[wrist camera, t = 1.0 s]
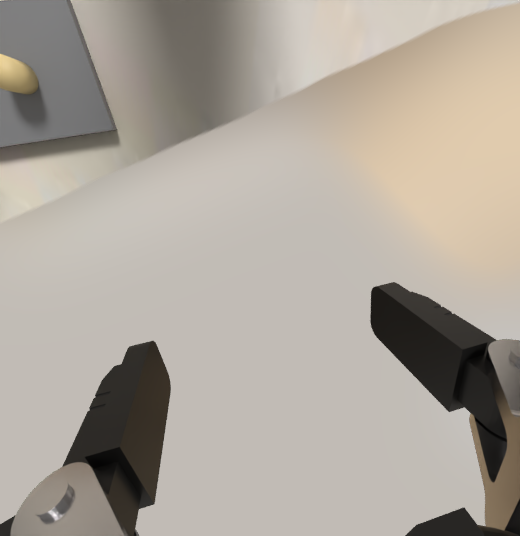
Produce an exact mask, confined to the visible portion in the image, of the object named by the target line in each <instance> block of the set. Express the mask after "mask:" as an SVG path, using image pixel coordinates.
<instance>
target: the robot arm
mask: <svg viewBox="0 0 520 536" xmlns="http://www.w3.org/2000/svg"><path fill="white" fill-rule="evenodd" d="M371 327H372V329H373V332H374V334H375V335H376V337H377V338H378V339H379V340H380V341H381V342H382V343H383V344H384V345H385V346H386V347H387V348H388V349H389V350H390V351H391V352H392V353H393V354H394V356H395V357H396V358H397V359H398V360H399V361H400V362H401V363H402V364H403V365H404V366H405V367H406V368H407V369H408V370H409V371H410V372H411V373H412V374H413V375H414V376H415V377H416V378H417V379H418V380H419V381H420V382H421V383H422V385H423V386H424V387H425V388H426V389H427V390H428V391H429V392H430V393H431V394H432V395H433V396H434V397H435V398H436V399H437V400H438V401H439V402H440V403H441V404H442V405H443V406H444V407H445V408H446V409H447V410H448V411H449V412H451V411H454V410H457V409H460V408H463V407H465V408H466V409H467V410H468V411H469V412H470V413H471V414H470V418H469V421H470V426H471V430H472V435H473V440H474V444H475V449H476V453H477V458H478V462H479V466H480V471H481V475H482V479H483V484H484V490H485V524H486V526H480V525H477V524H476V523H475V521H474V520H473V519H472V517H471V516H470V515H469V513H468V512H467V511H466V509H465V508H461V509H459V510H456V511H453V512H450V513H448V514H445V515H442V516H440V517H437V518H434V519H432V520H429V521H426V522H424V523H421V524H418V525H416V526H415V527H414V528H413V529H412V530H411V531H410V532H409V533H408V534H407V535H406V536H520V341H519V340H510V339H502V340H496V339H494V338H492V337H491V336H489V335H488V334H486V333H484V332H483V331H481V330H480V329H478V328H476V327H475V326H473V325H471V324H470V323H468V322H467V321H465V320H463V319H462V318H460V317H459V316H457V315H455V314H452V313H451V312H450V311H449V310H447V309H446V308H444V307H441V306H440V305H439V304H438V303H436V302H435V301H433V300H431V299H429V298H428V297H425V296H422V295H420V294H417V293H414V292H409V291H408V290H406V289H405V288H403V287H402V286H400V285H399V284H397V283H395V282H393V283H389V284H384V285H380V286H377V287H374V288H373V289H372V291H371ZM170 390H171V387H170V379H169V375H168V372H167V370H166V367H165V364H164V362H163V359H162V357H161V355H160V352H159V350H158V347H157V345H156V343H155V342H154V341H151V342H146V343H142V344H138V345H134V346H130V347H129V348H128V350H127V352H126V354H125V357H124V359H123V362H122V364H121V365H117V366H114V367H113V368H112V370H111V371H110V372H109V373H108V374H107V375H106V376H105V378H104V379H103V380H102V382H101V384H100V386H99V388H98V391H97V393H96V395H95V396H96V397H95V398H94V399H93V401H92V403H91V406H90V411H88V412H87V414H86V416H85V419H84V421H83V423H82V425H81V427H80V430H79V432H78V434H77V436H76V438H75V440H74V443H73V445H72V447H71V449H70V451H69V453H68V456H67V458H66V460H65V462H64V464H63V467H61V468H60V469H58V470H56V471H54V472H53V473H52V474H50V475H49V476H47V477H46V478H45V479H44V480H43V481H42V482H40V483H39V484H38V485H37V486H36V488H34V489H33V491H32V492H31V493H30V494H29V495H28V497H27V498H26V499H25V501H24V502H23V503H22V505H21V507H20V508H19V510H18V512H17V514H16V515H15V516H14V517H12V518H10V519H9V520H7V521H5V522H4V523H2V524H0V536H139V534H138V532H137V531H136V530H135V526H136V520H137V515H138V510H139V509H140V508H144V507H146V506H150V505H153V504H154V502H155V496H156V489H157V482H158V475H159V468H160V461H161V455H162V448H163V441H164V433H165V426H166V420H167V413H168V406H169V398H170Z"/></svg>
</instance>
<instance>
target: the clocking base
mask: <svg viewBox="0 0 520 536" xmlns="http://www.w3.org/2000/svg"><path fill="white" fill-rule="evenodd" d="M113 130H117V129H116V126H115V123H114V120H113V117H112V115H111V112H110V109H109V106H108V104H107V101H106V98H105V95H104V92H103V90H102V87H101V84H100V81H99V79H98V76H97V73H96V70H95V67H94V65H93V62H92V59H91V56H90V53H89V51H88V48H87V45H86V42H85V40H84V37H83V34H82V31H81V28H80V26H79V23H78V20H77V17H76V15H75V12H74V9H73V6H72V3H71V1H70V0H4V1H0V148H1V147H7V146H14V145H21V144H27V143H34V142H40V141H47V140H53V139H60V138H67V137H73V136H80V135H86V134H93V133H99V132H106V131H113Z"/></svg>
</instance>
